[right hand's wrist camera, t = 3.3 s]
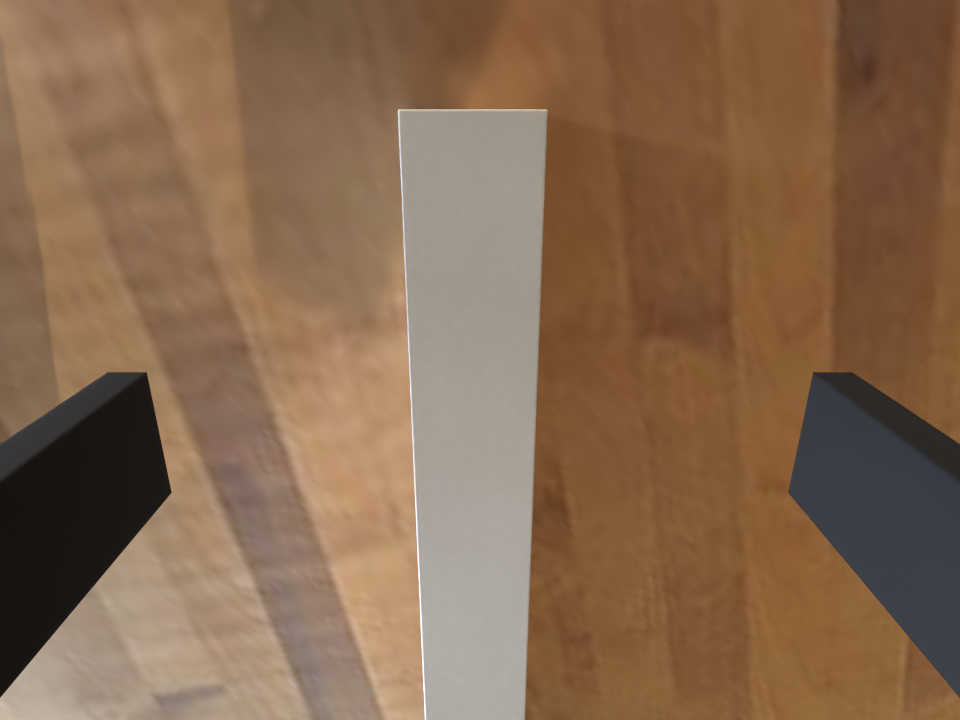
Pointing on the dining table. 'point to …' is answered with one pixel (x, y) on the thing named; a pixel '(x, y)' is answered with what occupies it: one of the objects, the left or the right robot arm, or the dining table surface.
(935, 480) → the right robot arm
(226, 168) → the dining table surface
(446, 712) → the post
